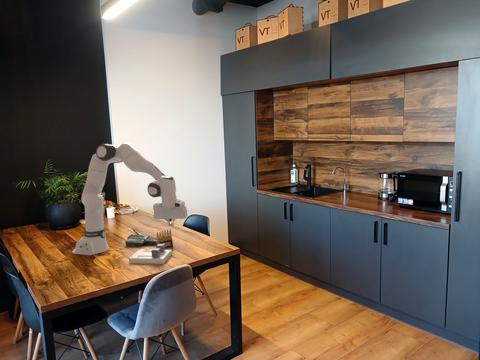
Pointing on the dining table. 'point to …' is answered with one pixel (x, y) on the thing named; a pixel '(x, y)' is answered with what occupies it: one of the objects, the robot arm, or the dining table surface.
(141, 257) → the switch panel
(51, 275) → the dining table surface
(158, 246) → the tab far
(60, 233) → the dining table surface
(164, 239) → the ammunition clip
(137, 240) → the communication device
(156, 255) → the tab near
